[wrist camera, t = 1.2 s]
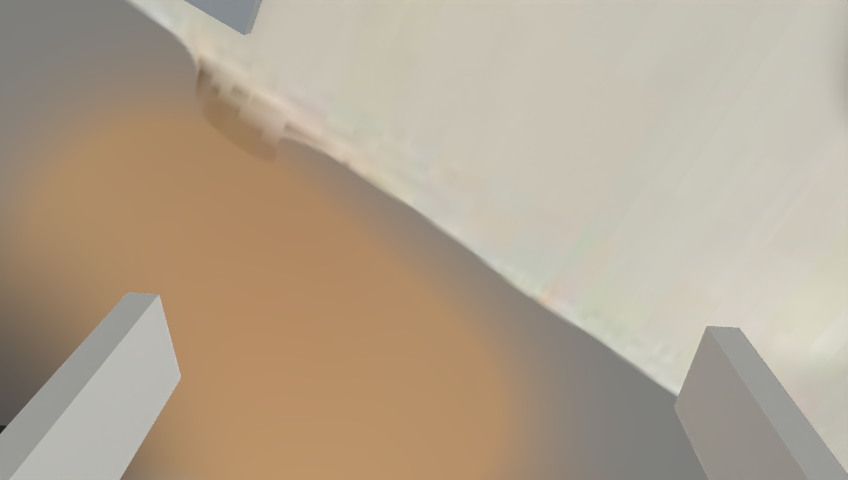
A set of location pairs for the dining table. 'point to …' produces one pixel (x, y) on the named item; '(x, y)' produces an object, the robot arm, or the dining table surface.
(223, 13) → the slate board
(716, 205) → the dining table surface
